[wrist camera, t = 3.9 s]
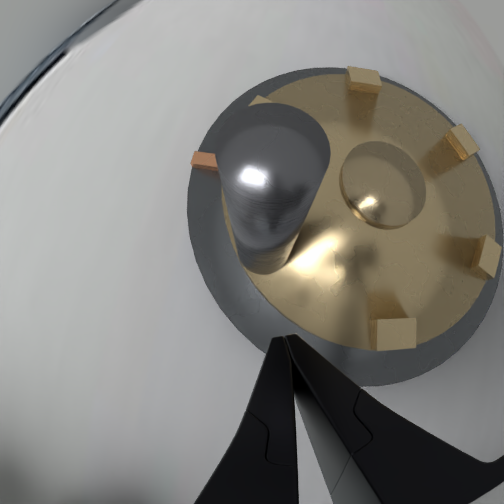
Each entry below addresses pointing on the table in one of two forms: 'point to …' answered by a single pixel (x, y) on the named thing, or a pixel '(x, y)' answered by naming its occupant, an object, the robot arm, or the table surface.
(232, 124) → the gold wheel with handle
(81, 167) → the table surface
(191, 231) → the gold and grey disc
